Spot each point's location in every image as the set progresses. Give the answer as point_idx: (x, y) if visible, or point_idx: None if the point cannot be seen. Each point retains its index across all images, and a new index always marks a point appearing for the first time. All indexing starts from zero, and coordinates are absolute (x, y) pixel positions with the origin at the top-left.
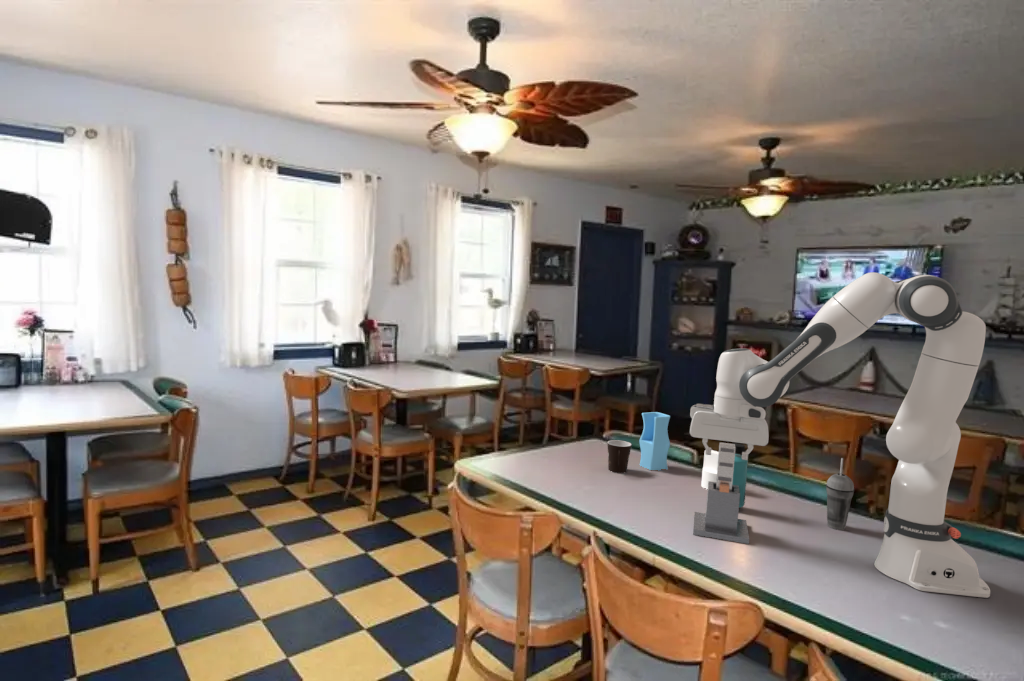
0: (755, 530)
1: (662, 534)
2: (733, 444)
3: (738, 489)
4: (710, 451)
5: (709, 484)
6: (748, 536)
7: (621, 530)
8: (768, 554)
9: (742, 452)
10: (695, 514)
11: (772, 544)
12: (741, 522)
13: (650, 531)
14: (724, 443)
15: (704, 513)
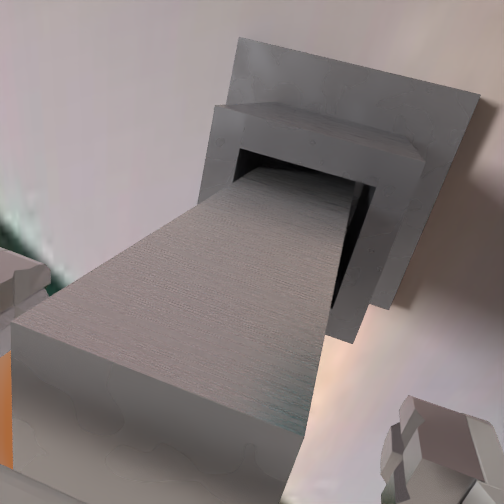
0: (495, 154)
1: (113, 249)
2: (259, 462)
3: (383, 254)
4: (6, 344)
5: (207, 182)
6: (395, 289)
7: (5, 235)
8: (425, 369)
9: (408, 487)
10: (235, 75)
11: (493, 293)
12: (436, 136)
13: (79, 231)
14: (91, 400)
15: (282, 48)
